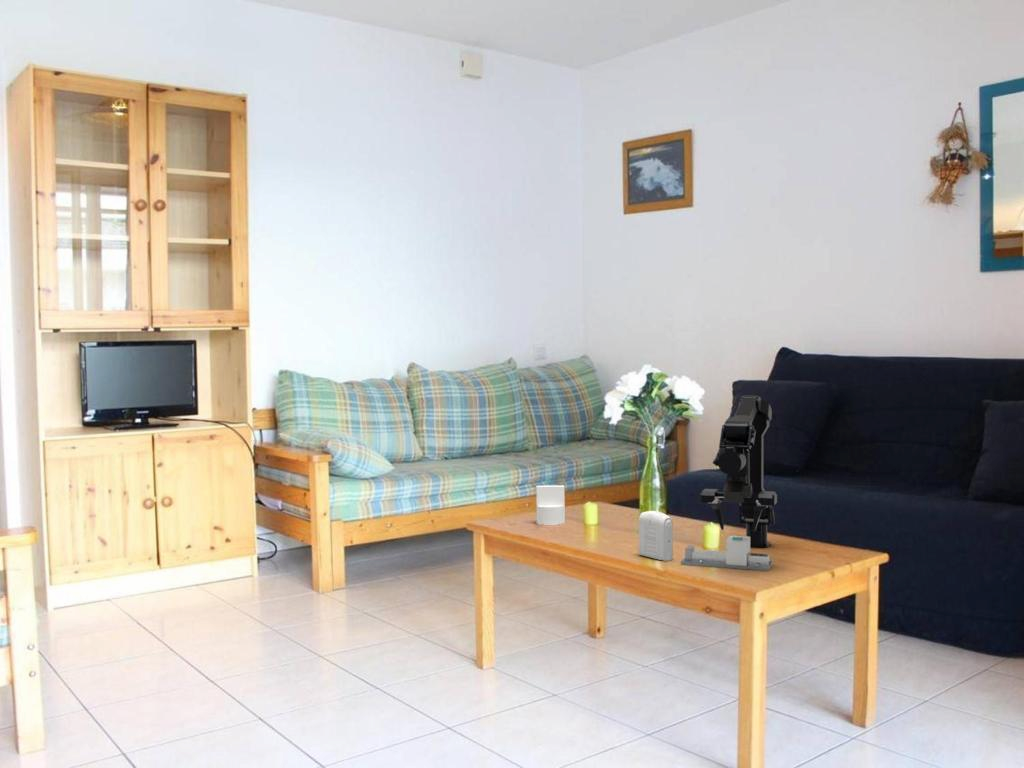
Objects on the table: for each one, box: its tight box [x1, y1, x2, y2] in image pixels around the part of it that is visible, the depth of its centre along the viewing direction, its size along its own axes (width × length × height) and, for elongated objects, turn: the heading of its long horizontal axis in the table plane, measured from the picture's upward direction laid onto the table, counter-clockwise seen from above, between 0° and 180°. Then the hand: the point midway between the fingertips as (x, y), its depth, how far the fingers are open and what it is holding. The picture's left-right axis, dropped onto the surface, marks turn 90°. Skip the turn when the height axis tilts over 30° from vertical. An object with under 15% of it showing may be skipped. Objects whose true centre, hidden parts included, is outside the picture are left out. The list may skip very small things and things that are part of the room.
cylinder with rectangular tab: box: [535, 484, 566, 525], centre depth 308 cm, size 9×9×12 cm
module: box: [725, 535, 751, 566], centre depth 248 cm, size 7×5×7 cm
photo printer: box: [638, 510, 674, 562], centre depth 258 cm, size 10×4×12 cm, turn 37°
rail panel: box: [680, 544, 773, 572], centre depth 249 cm, size 8×22×4 cm, turn 68°
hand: (738, 530), depth 247 cm, fingers open, 8 cm apart
